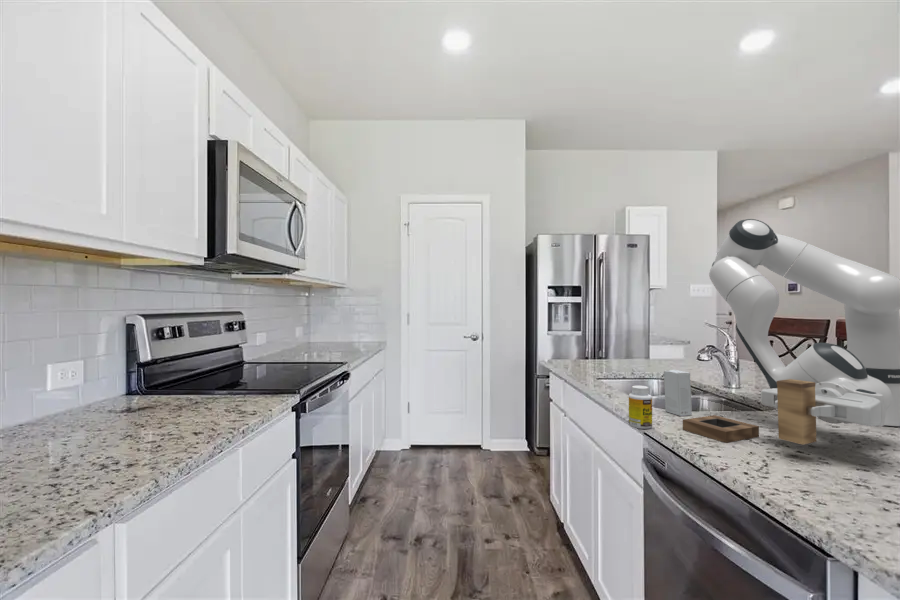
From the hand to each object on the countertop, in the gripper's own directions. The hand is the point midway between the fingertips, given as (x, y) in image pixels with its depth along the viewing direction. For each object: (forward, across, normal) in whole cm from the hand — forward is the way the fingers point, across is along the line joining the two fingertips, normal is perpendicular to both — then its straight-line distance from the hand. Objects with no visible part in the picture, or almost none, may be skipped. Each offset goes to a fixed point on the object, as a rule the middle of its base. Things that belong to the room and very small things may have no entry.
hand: (793, 408), depth 91 cm
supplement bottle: (+11, -30, +10) cm, 33 cm away
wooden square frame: (-2, -18, +10) cm, 20 cm away
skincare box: (-9, -36, +10) cm, 38 cm away
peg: (-1, 0, +7) cm, 7 cm away
